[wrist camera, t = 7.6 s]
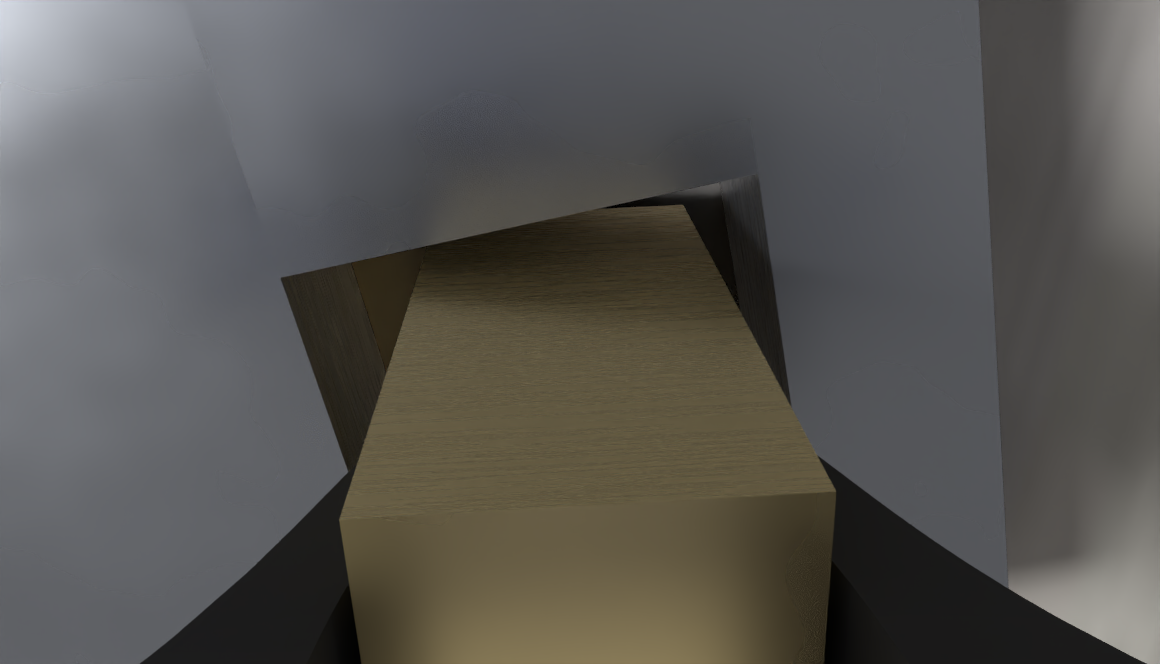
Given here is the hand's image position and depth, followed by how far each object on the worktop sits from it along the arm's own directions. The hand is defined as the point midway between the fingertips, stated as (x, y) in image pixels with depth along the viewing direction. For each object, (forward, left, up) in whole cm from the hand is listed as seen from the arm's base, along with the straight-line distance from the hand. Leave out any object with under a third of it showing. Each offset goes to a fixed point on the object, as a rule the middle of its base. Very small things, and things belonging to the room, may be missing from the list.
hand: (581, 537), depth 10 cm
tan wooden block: (0, 0, -4) cm, 4 cm away
